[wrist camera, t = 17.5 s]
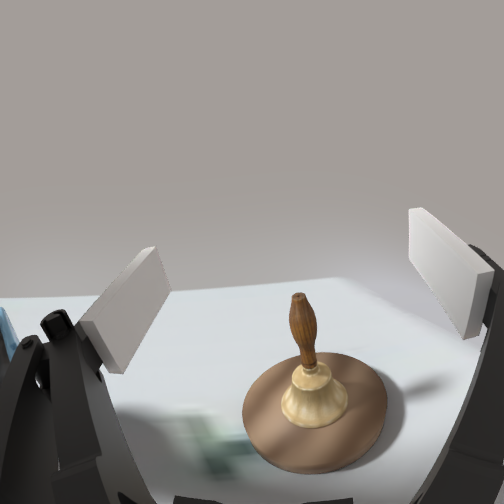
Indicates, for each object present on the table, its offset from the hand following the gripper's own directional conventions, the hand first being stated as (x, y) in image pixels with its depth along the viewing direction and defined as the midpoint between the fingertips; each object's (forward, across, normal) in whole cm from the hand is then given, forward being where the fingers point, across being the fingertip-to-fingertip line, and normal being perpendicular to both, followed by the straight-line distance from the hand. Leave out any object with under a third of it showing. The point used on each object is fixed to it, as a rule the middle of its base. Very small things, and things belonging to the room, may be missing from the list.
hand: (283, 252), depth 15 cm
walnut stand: (+10, 0, -28) cm, 30 cm away
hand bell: (+10, 0, -25) cm, 27 cm away
